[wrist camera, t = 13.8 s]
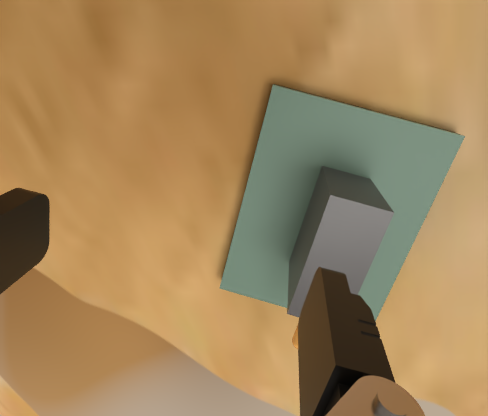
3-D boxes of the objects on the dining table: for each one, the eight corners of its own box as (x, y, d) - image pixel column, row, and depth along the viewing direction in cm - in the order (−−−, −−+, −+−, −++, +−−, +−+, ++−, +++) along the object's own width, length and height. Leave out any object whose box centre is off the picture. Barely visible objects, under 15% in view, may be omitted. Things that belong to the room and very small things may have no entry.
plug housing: (322, 165, 27) (330, 194, 21) (370, 178, 27) (394, 212, 21) (277, 297, 32) (272, 354, 25) (318, 309, 32) (324, 369, 25)
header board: (274, 84, 27) (269, 86, 22) (455, 132, 26) (494, 147, 21) (222, 279, 34) (209, 316, 29) (366, 321, 33) (379, 366, 28)
